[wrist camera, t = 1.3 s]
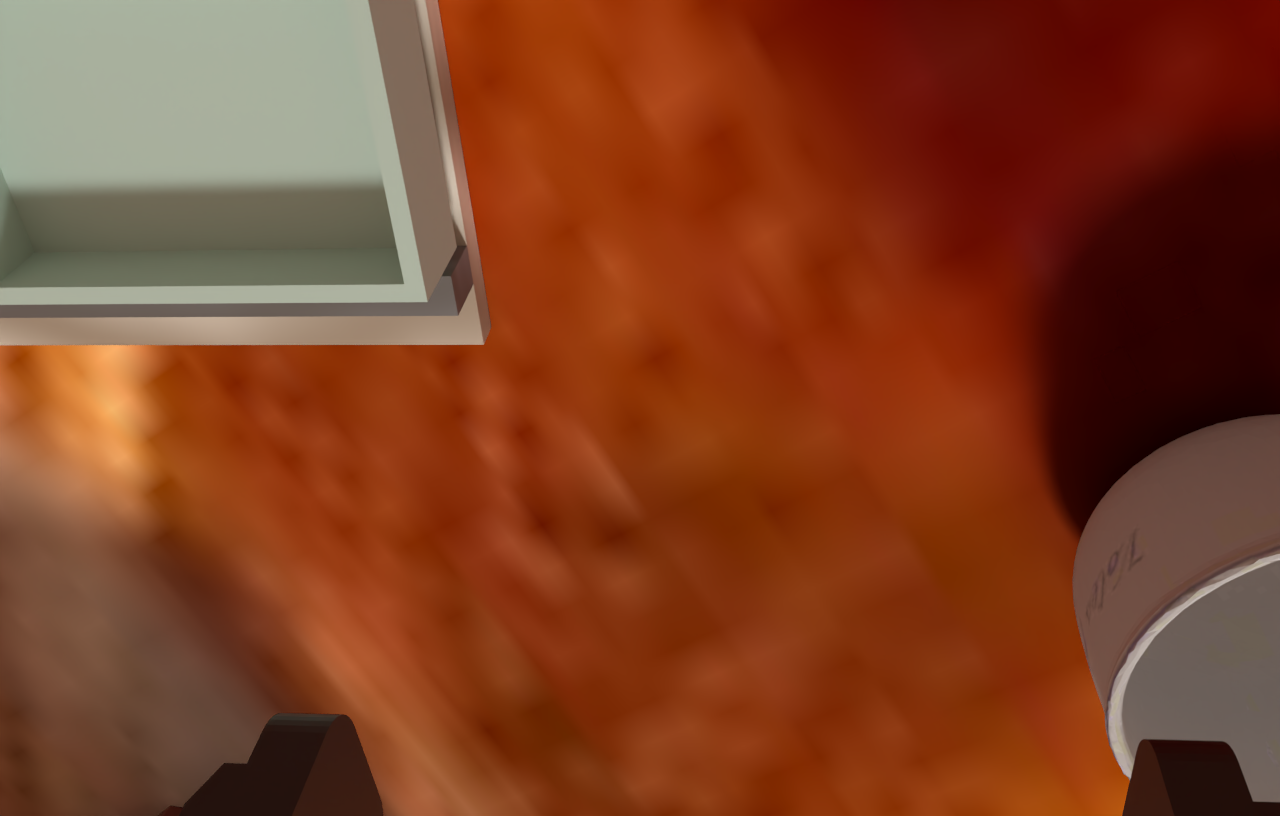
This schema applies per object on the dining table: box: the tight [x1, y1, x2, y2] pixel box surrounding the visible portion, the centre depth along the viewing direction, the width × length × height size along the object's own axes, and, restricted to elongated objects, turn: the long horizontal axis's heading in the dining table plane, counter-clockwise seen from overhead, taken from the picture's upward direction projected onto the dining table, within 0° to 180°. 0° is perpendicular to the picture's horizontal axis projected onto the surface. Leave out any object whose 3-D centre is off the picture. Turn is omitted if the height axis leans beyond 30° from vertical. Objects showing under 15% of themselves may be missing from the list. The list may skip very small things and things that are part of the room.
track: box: [0, 0, 491, 345], centre depth 30 cm, size 16×23×3 cm
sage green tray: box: [0, 0, 457, 305], centre depth 28 cm, size 9×12×4 cm
